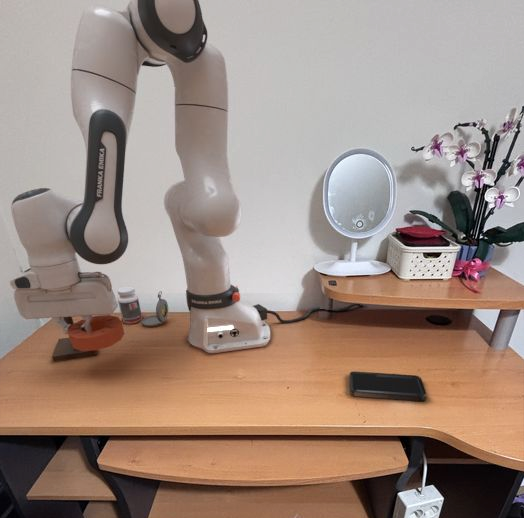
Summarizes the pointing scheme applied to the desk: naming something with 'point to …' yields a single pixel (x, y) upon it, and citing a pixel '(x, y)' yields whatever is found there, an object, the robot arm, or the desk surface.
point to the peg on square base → (68, 348)
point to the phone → (387, 386)
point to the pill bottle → (129, 305)
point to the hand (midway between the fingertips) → (77, 332)
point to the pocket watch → (157, 314)
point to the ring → (96, 333)
